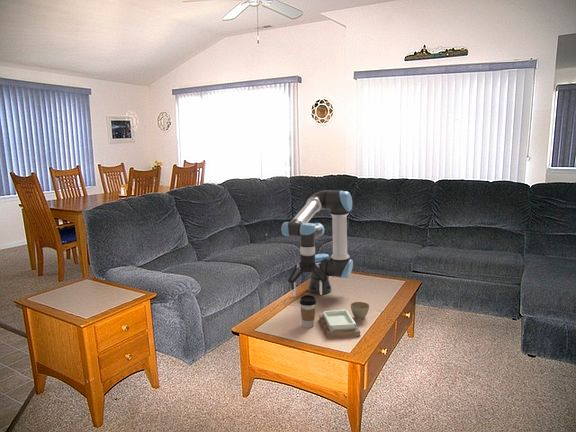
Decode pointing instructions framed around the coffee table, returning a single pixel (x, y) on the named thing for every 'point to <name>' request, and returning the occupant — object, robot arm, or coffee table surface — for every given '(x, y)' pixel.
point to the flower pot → (359, 309)
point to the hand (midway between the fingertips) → (307, 294)
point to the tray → (339, 320)
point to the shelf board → (338, 333)
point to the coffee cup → (308, 310)
